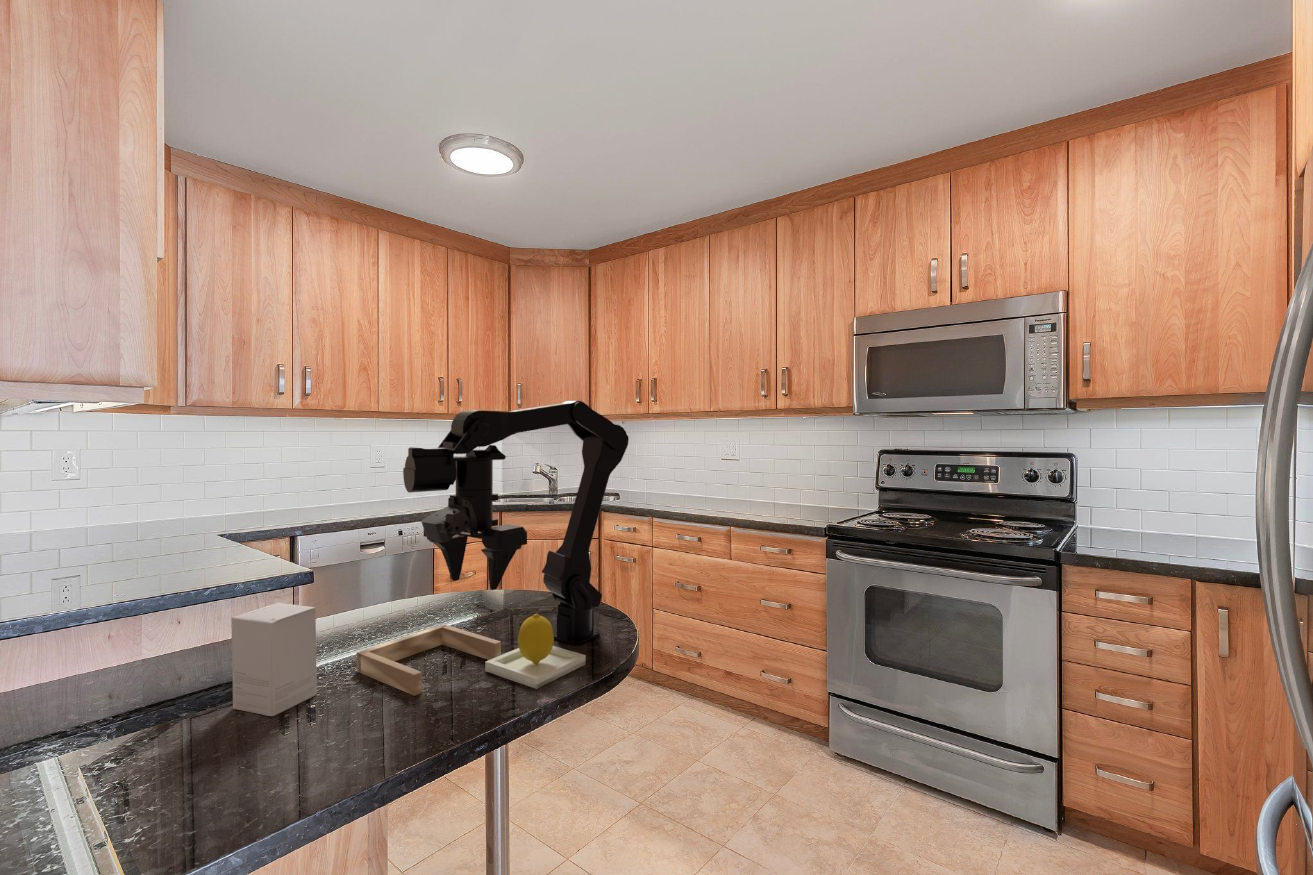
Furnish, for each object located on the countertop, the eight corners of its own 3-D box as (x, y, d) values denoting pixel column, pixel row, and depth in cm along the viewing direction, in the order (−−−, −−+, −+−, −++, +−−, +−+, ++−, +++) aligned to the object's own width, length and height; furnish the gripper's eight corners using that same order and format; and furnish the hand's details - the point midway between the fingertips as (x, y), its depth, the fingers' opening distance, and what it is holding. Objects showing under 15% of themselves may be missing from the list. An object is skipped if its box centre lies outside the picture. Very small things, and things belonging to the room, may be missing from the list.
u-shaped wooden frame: (443, 640, 109) (443, 624, 109) (500, 659, 101) (500, 641, 101) (356, 671, 96) (356, 652, 96) (414, 695, 88) (414, 674, 88)
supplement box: (318, 694, 88) (318, 606, 87) (271, 718, 81) (270, 622, 80) (280, 686, 90) (279, 600, 90) (230, 709, 83) (229, 616, 83)
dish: (535, 649, 106) (535, 640, 105) (585, 664, 99) (585, 655, 99) (485, 671, 96) (485, 661, 96) (536, 688, 90) (536, 678, 90)
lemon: (545, 672, 95) (546, 620, 94) (512, 669, 96) (512, 618, 95) (558, 658, 100) (559, 609, 100) (526, 655, 101) (526, 607, 101)
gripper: (393, 488, 98) (394, 586, 98) (472, 498, 87) (472, 607, 88) (452, 483, 107) (452, 572, 107) (529, 491, 97) (529, 590, 97)
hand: (474, 584), depth 100 cm, fingers open, 9 cm apart
